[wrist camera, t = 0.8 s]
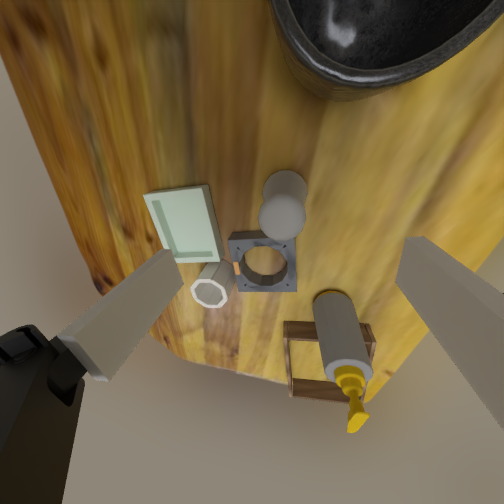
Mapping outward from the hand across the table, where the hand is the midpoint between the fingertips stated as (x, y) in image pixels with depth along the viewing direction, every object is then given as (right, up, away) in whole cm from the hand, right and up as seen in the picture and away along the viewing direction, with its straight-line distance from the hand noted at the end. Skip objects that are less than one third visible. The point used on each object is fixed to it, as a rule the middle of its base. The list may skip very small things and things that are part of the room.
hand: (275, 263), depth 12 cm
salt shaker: (+3, +10, +17) cm, 20 cm away
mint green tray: (-12, +5, +22) cm, 25 cm away
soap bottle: (+13, -8, +25) cm, 29 cm away
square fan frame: (+1, 0, +22) cm, 23 cm away
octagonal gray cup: (-7, -3, +26) cm, 27 cm away
